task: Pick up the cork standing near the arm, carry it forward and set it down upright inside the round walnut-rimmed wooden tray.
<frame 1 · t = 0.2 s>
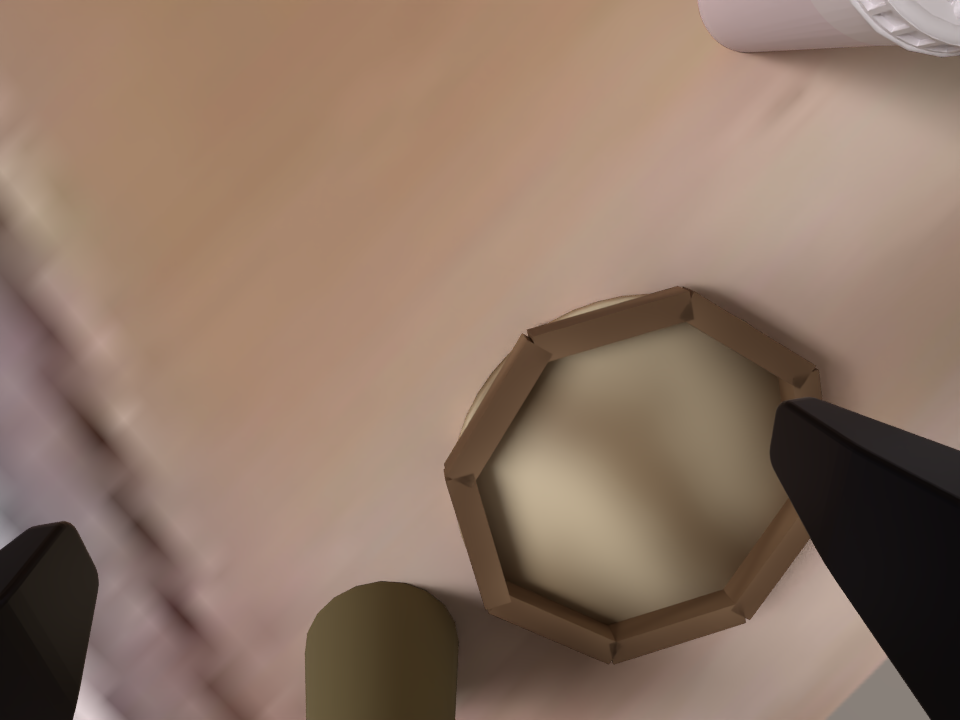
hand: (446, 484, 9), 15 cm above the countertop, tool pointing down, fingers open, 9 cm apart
tray: (633, 473, 26), on the countertop
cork: (382, 644, 27), on the countertop
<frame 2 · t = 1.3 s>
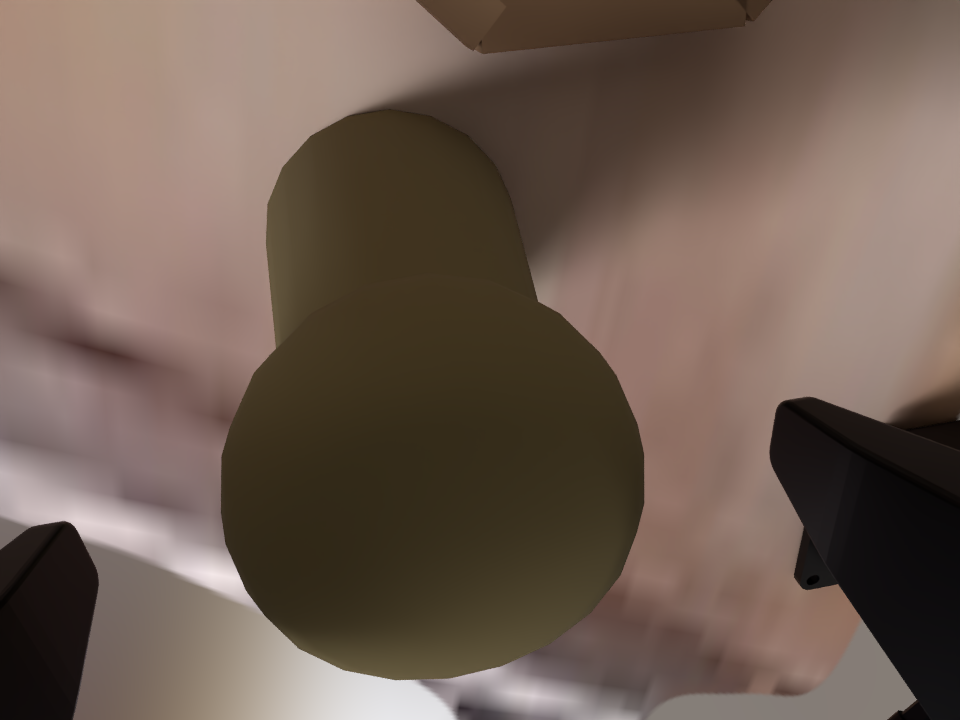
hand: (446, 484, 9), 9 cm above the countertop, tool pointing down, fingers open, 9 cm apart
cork: (393, 236, 17), on the countertop
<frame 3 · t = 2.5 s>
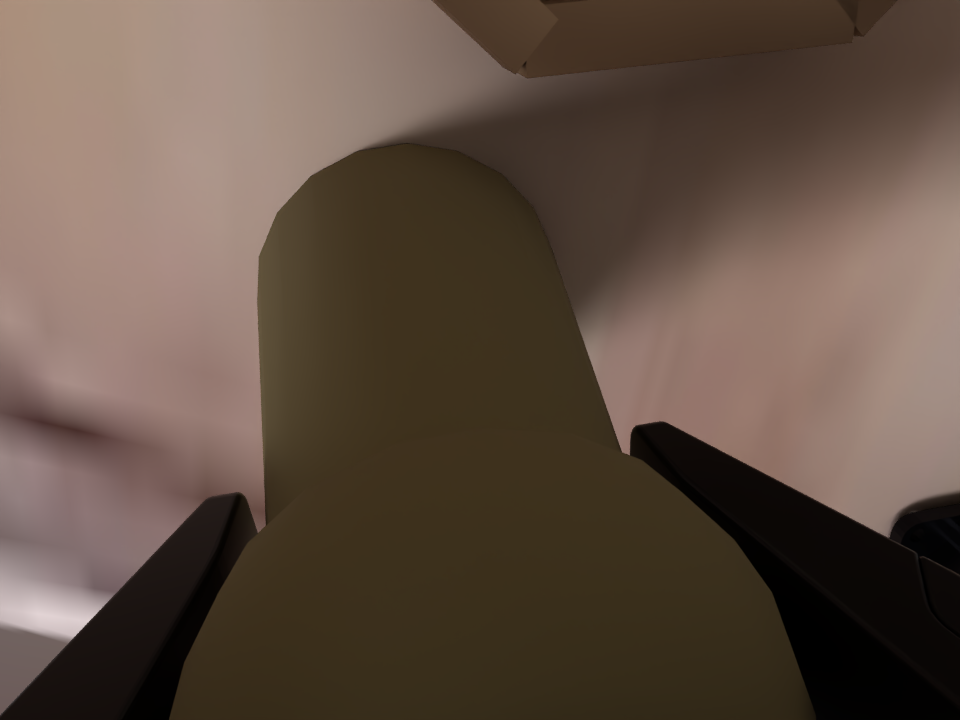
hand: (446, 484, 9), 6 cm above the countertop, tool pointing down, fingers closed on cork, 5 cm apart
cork: (410, 291, 14), on the countertop, touching gripper
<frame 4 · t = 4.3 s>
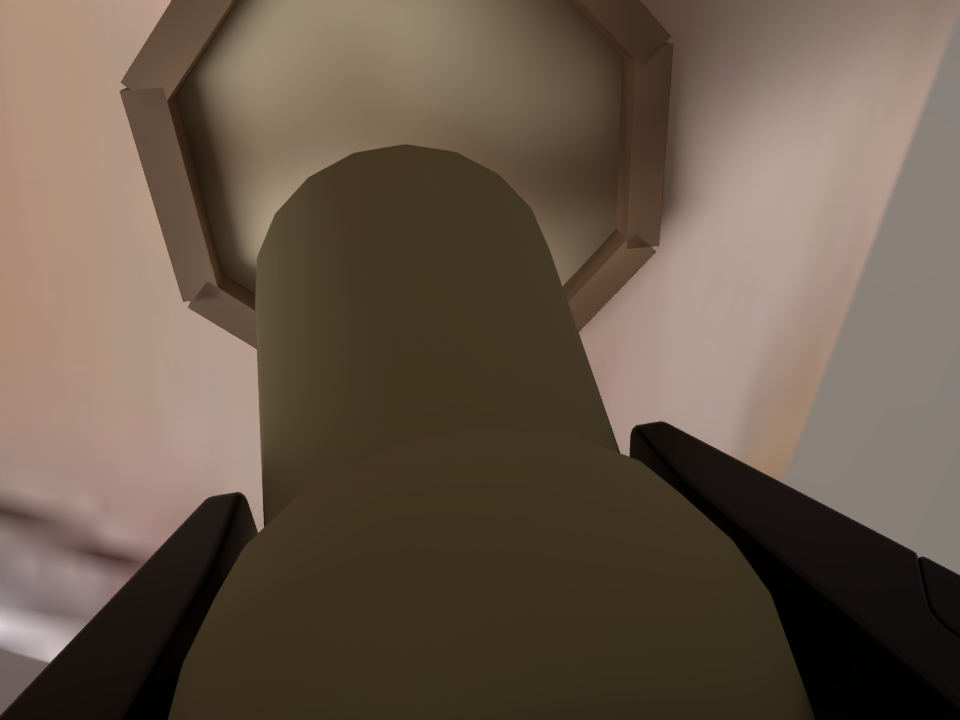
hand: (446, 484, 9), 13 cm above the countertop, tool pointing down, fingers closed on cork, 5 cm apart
tray: (415, 163, 20), on the countertop
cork: (408, 292, 14), point 7 cm above the countertop, touching gripper
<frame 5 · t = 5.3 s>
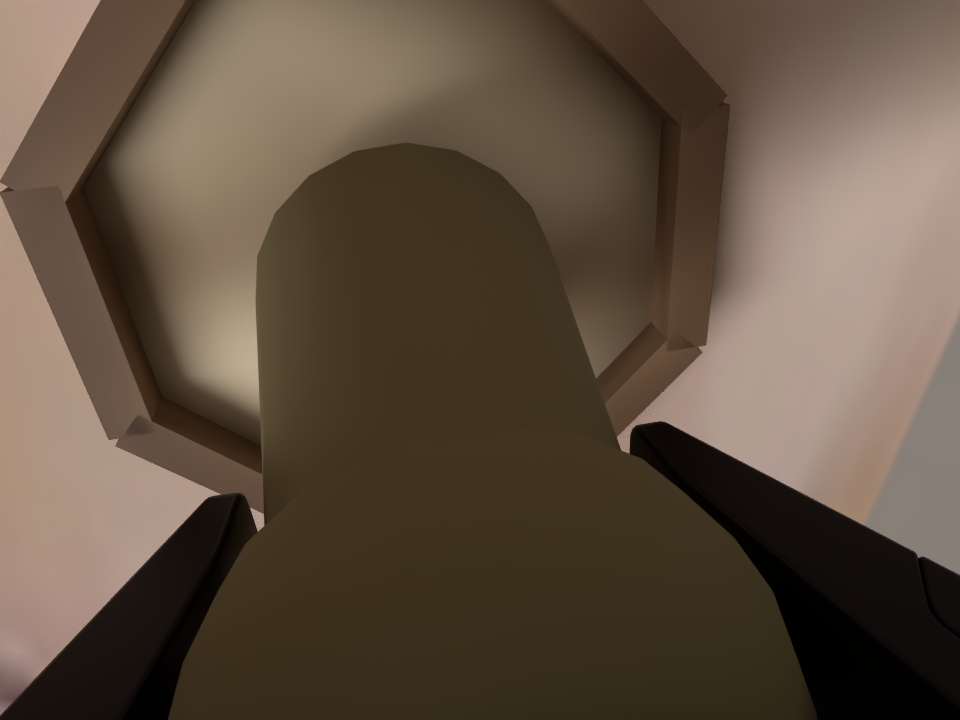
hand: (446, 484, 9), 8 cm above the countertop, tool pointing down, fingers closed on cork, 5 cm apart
tray: (400, 253, 16), on the countertop
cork: (408, 291, 14), point 2 cm above the countertop, touching gripper
when the fingers open (8 cm above the countertop, at t = 6.1 s): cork drops 1 cm, resting on tray.
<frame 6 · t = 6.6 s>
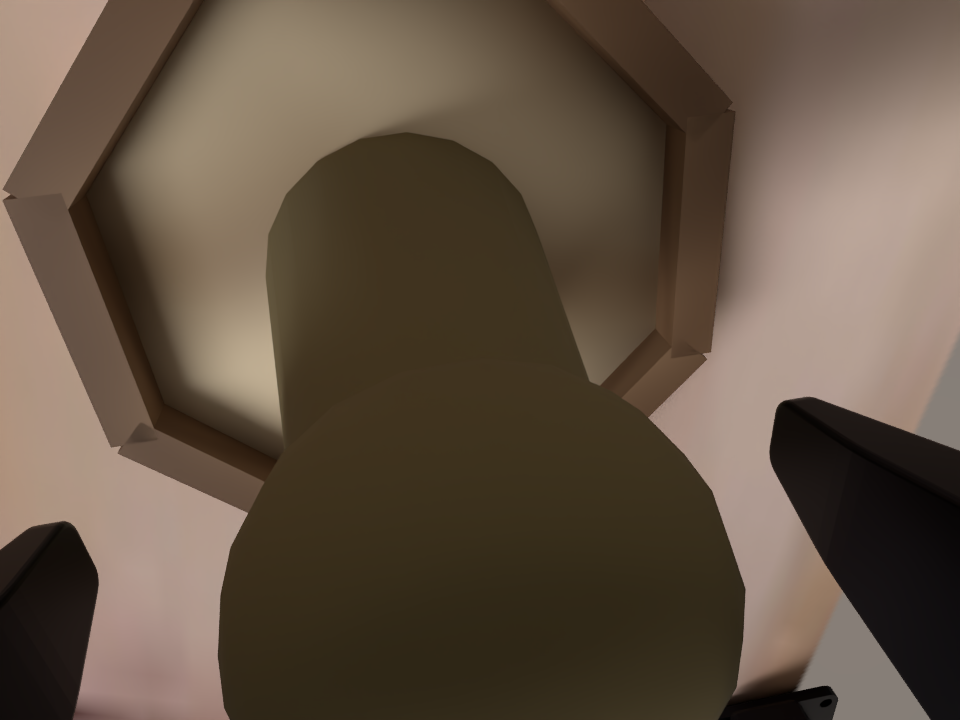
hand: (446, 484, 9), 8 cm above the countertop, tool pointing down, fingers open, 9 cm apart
tray: (403, 260, 16), on the countertop
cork: (406, 270, 15), resting on tray
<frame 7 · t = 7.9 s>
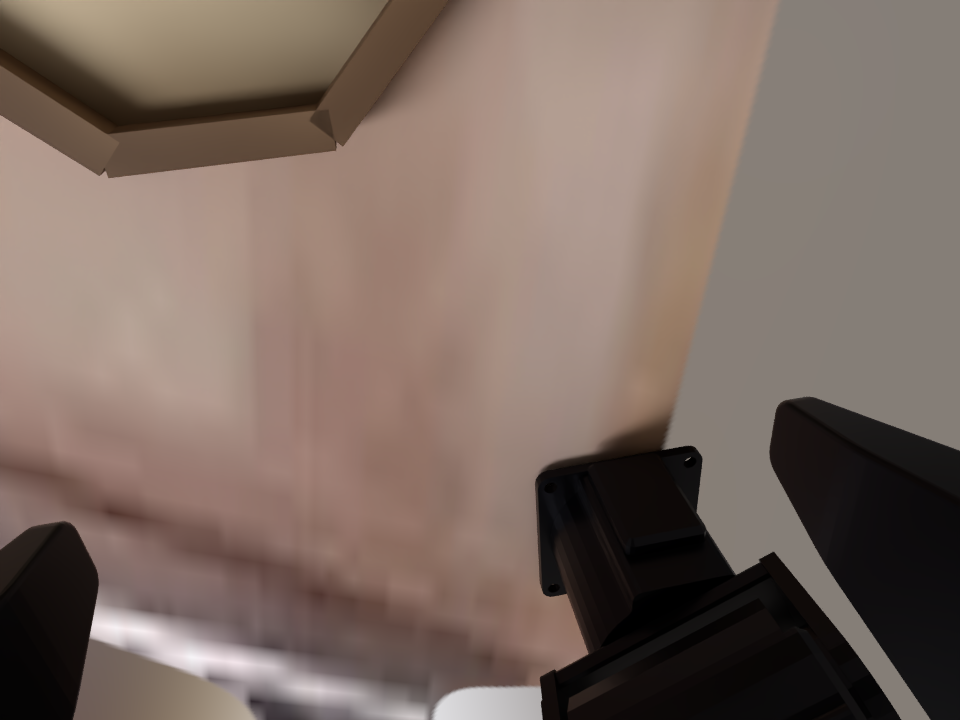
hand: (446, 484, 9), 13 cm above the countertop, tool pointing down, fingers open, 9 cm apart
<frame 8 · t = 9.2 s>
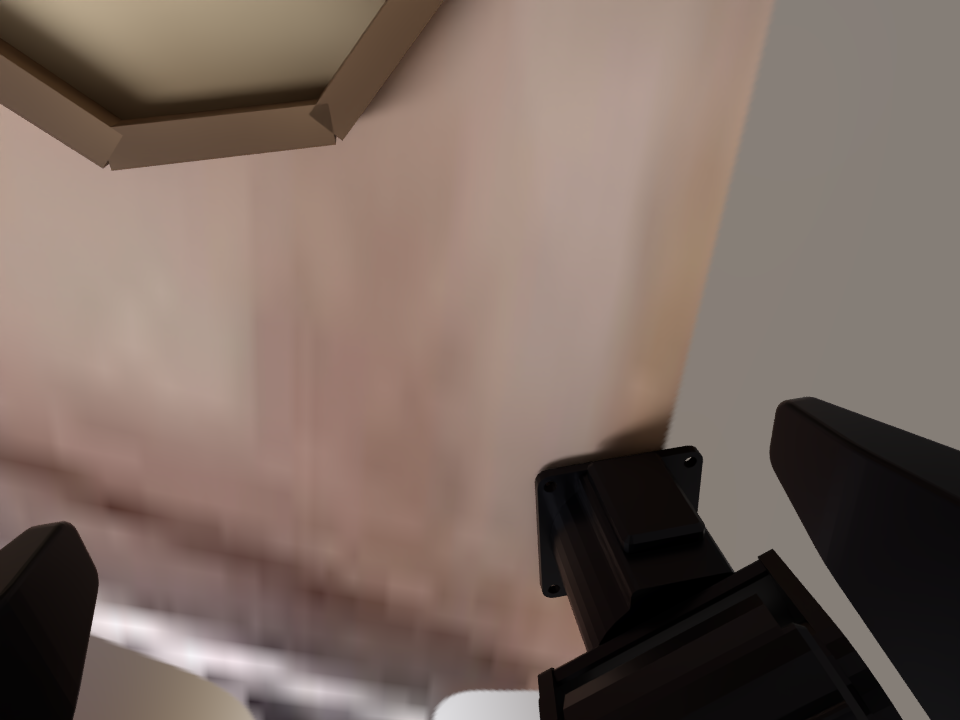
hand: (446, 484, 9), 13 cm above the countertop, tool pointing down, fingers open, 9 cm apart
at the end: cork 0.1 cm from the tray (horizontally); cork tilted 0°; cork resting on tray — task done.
